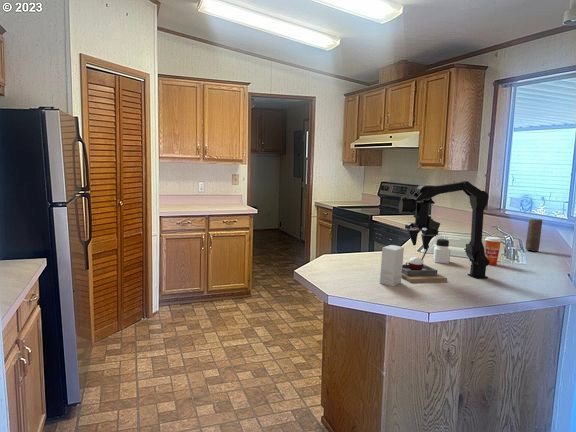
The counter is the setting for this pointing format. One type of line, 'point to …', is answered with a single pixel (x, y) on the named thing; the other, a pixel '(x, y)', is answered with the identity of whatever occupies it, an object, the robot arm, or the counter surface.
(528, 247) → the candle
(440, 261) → the medicine bottle
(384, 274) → the skincare box
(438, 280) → the tray stand
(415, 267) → the cocoa
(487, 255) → the paper cup
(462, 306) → the counter surface
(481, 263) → the robot arm
